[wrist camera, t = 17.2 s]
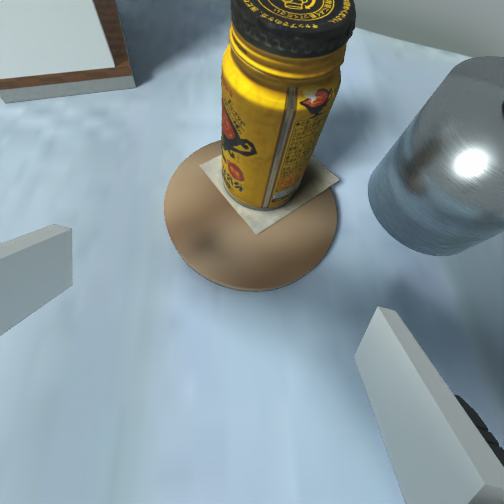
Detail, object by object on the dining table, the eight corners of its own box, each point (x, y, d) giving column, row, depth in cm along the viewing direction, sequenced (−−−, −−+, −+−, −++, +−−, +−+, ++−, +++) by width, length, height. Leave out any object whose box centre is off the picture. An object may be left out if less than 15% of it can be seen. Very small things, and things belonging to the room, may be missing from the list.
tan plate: (365, 238, 22) (371, 232, 21) (221, 327, 19) (221, 325, 18) (273, 126, 26) (275, 117, 25) (137, 182, 22) (133, 174, 21)
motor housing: (503, 221, 24) (689, 124, 15) (426, 278, 22) (593, 205, 12) (422, 140, 27) (534, 14, 17) (344, 181, 24) (426, 58, 15)
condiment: (198, 166, 22) (177, -34, 11) (281, 124, 25) (330, -73, 14) (255, 236, 20) (296, 80, 9) (338, 182, 23) (446, 10, 12)
